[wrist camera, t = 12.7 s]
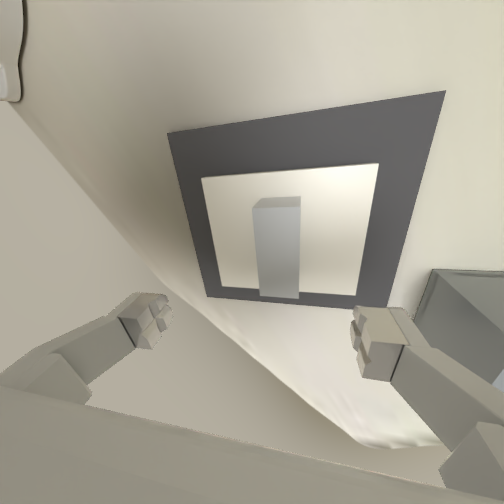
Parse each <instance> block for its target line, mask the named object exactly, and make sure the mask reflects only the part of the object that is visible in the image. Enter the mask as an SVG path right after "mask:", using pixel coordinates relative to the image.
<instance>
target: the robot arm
mask: <svg viewBox="0 0 504 504" xmlns="http://www.w3.org/2000/svg"><path fill="white" fill-rule="evenodd" d="M22 35H23V8H22V0H0V101H11V102H17V101H19V99H20V97H21V88H20V79H19V72H18V57H19V52H20V47H21V42H22ZM167 303H168V299H167V297H166V295H163V294H155V293H140V292H135V293H132V294H131V295H130V296H129V297H128V298H126V299H125V300H124V301H123V302H122V303H121V304H120V305H118V306H117V307H116V308H115V309H114V310H112V311H111V312H110V313H109V314H108V315H107V316H106V317H105V316H102V317H100V318H98V319H96V320H94V321H92V322H89V323H88V324H85V325H83V326H81V327H79V328H77V329H74V330H72V331H70V332H68V333H66V334H64V335H62V336H59V337H57V338H55V339H53V340H51V341H49V342H46V343H44V344H42V345H40V346H38V347H36V348H34V349H32V350H31V351H29V352H28V353H27V354H25V355H24V356H23V357H21V358H20V359H19V360H17V361H16V362H15V363H14V364H12V365H11V366H9V367H8V368H7V369H6V370H4V371H3V372H2V373H0V504H504V393H503V392H502V391H500V390H499V389H497V388H496V387H494V386H493V385H491V384H490V383H488V382H487V381H485V380H484V379H482V378H481V377H479V376H478V375H476V374H475V373H473V372H472V371H470V370H469V369H467V368H466V367H464V366H463V365H461V364H460V363H458V362H457V361H455V360H454V359H452V358H451V357H449V356H448V355H446V354H445V353H443V352H442V351H440V350H439V349H437V348H431V347H430V345H429V344H428V342H427V341H426V339H425V338H424V337H423V335H422V334H421V332H420V331H419V329H418V328H417V326H416V325H415V324H414V322H413V321H412V319H411V318H410V316H409V315H408V314H407V312H406V311H405V309H403V308H401V307H375V306H355V307H354V310H353V316H354V320H353V321H352V322H351V327H350V335H351V341H352V345H353V348H354V349H355V350H356V351H357V352H358V354H357V363H358V366H359V369H360V373H361V376H362V378H367V379H373V380H380V381H386V382H391V383H390V384H391V385H392V386H393V387H394V388H395V389H396V391H397V392H398V393H399V394H400V395H401V396H402V397H403V398H404V400H405V401H406V402H407V403H408V404H409V405H410V406H411V407H412V409H413V410H414V411H415V412H416V413H417V414H418V415H419V416H420V418H421V419H422V420H423V421H424V422H425V423H426V424H427V425H428V427H429V428H430V429H431V430H432V431H433V432H434V433H435V434H436V436H437V437H438V438H439V439H440V440H441V441H442V442H443V443H444V444H445V446H446V447H447V448H448V449H449V450H450V451H451V452H452V453H451V454H450V455H449V456H448V457H447V459H446V460H445V461H444V462H443V463H442V465H441V466H440V468H439V469H438V470H439V472H440V475H441V477H442V479H443V481H444V484H445V486H446V488H444V487H440V486H435V485H431V484H426V483H422V482H417V481H413V480H409V479H405V478H400V477H396V476H391V475H387V474H383V473H378V472H374V471H370V470H366V469H361V468H357V467H353V466H348V465H344V464H339V463H335V462H331V461H326V460H322V459H318V458H314V457H309V456H305V455H300V454H296V453H291V452H287V451H283V450H279V449H275V448H270V447H266V446H261V445H257V444H253V443H248V442H243V441H240V440H235V439H231V438H226V437H222V436H218V435H214V434H209V433H205V432H201V431H196V430H192V429H187V428H183V427H179V426H174V425H170V424H166V423H162V422H157V421H153V420H149V419H144V418H140V417H135V416H131V415H127V414H123V413H118V412H114V411H110V410H105V409H101V408H97V407H92V406H88V405H84V404H85V403H86V402H87V401H88V400H89V398H90V397H91V396H92V391H91V390H90V389H89V387H88V386H87V385H88V384H89V383H90V382H92V381H93V380H94V379H96V378H97V377H98V376H100V375H101V374H102V373H104V372H105V371H106V370H108V369H109V368H111V367H112V366H113V365H115V364H116V363H117V362H119V361H120V360H121V359H123V358H124V357H125V356H127V355H128V354H129V353H131V352H132V351H133V350H135V348H143V349H153V348H154V346H155V345H156V344H157V342H158V341H159V339H160V338H161V337H162V334H161V333H162V331H164V330H166V329H167V328H168V327H169V325H170V324H171V321H172V318H173V312H172V309H171V308H170V307H169V306H168V305H167Z"/></svg>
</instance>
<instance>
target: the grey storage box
mask: <svg viewBox="0 0 504 504" xmlns="http://www.w3.org/2000/svg"><path fill="white" fill-rule="evenodd" d="M414 324H415V325H416V326H417V328H418V329H419V331H420V332H421V334H422V335H423V337H424V338H425V339H426V341H427V342H428V344H429V345H430V347H431V348H437V349H439V350H440V351H442V352H443V353H445V354H446V355H448V356H449V357H451V358H452V359H454V360H455V361H457V362H458V363H460V364H461V365H463V366H464V367H466V368H467V369H469V370H470V371H472V372H473V373H475V374H476V375H478V376H479V377H481V378H482V379H484V380H485V381H487V382H488V383H490V384H491V385H493V386H494V387H496V388H497V389H499V390H500V391H502V392H503V393H504V272H499V271H471V270H443V269H433V270H432V273H431V276H430V278H429V281H428V284H427V287H426V289H425V292H424V295H423V297H422V300H421V303H420V305H419V308H418V311H417V314H416V316H415V319H414Z"/></svg>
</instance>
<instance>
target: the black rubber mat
mask: <svg viewBox="0 0 504 504" xmlns="http://www.w3.org/2000/svg"><path fill="white" fill-rule="evenodd" d="M445 93H446V90H445V91H439V92H432V93H426V94H419V95H413V96H406V97H400V98H393V99H387V100H380V101H374V102H367V103H361V104H354V105H348V106H341V107H335V108H328V109H322V110H315V111H309V112H302V113H296V114H289V115H283V116H276V117H270V118H263V119H257V120H250V121H244V122H237V123H231V124H224V125H218V126H211V127H205V128H198V129H192V130H185V131H179V132H172V133H167V136H168V140H169V144H170V148H171V152H172V156H173V160H174V164H175V168H176V172H177V176H178V180H179V185H180V189H181V193H182V197H183V201H184V205H185V209H186V213H187V217H188V221H189V225H190V229H191V233H192V238H193V242H194V246H195V250H196V254H197V258H198V262H199V266H200V270H201V274H202V278H203V282H204V286H205V290H206V295H207V297H215V298H226V299H238V300H249V301H261V302H272V303H284V304H296V305H307V306H319V307H330V308H342V309H353V310H354V307H355V306H375V307H387V303H388V300H389V296H390V292H391V289H392V285H393V282H394V278H395V274H396V271H397V267H398V263H399V260H400V256H401V253H402V249H403V245H404V242H405V238H406V234H407V231H408V227H409V224H410V220H411V216H412V213H413V209H414V205H415V202H416V198H417V194H418V191H419V187H420V184H421V180H422V176H423V173H424V169H425V165H426V162H427V158H428V155H429V151H430V147H431V144H432V140H433V136H434V133H435V129H436V126H437V122H438V118H439V115H440V111H441V107H442V104H443V100H444V97H445ZM366 163H379V166H378V172H377V177H376V183H375V189H374V194H373V200H372V205H371V211H370V217H369V222H368V228H367V233H366V239H365V245H364V250H363V256H362V261H361V267H360V273H359V278H358V284H357V289H356V295H355V296H354V295H340V294H326V293H311V292H299V299H294V298H281V297H269V296H260V291H259V289H255V288H240V287H226V286H222V283H221V278H220V273H219V268H218V262H217V257H216V252H215V247H214V242H213V237H212V232H211V227H210V222H209V217H208V211H207V206H206V201H205V196H204V191H203V186H202V181H201V178H204V177H210V176H222V175H234V174H246V173H258V172H270V171H282V170H294V169H306V168H318V167H330V166H342V165H354V164H366Z"/></svg>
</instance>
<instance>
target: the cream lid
mask: <svg viewBox="0 0 504 504" xmlns="http://www.w3.org/2000/svg"><path fill="white" fill-rule="evenodd" d="M378 166H379V163H366V164H354V165H342V166H330V167H318V168H306V169H294V170H282V171H270V172H258V173H246V174H234V175H222V176H210V177H204V178H201V181H202V186H203V191H204V196H205V201H206V206H207V211H208V217H209V222H210V227H211V232H212V237H213V242H214V247H215V252H216V257H217V262H218V268H219V273H220V278H221V283H222V286H226V287H240V288H255V289H259V291H260V296H269V297H281V298H294V299H299V292H311V293H326V294H340V295H354V296H355V295H356V289H357V284H358V278H359V273H360V267H361V261H362V256H363V250H364V245H365V239H366V233H367V228H368V222H369V217H370V211H371V205H372V200H373V194H374V189H375V183H376V177H377V172H378Z"/></svg>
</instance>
